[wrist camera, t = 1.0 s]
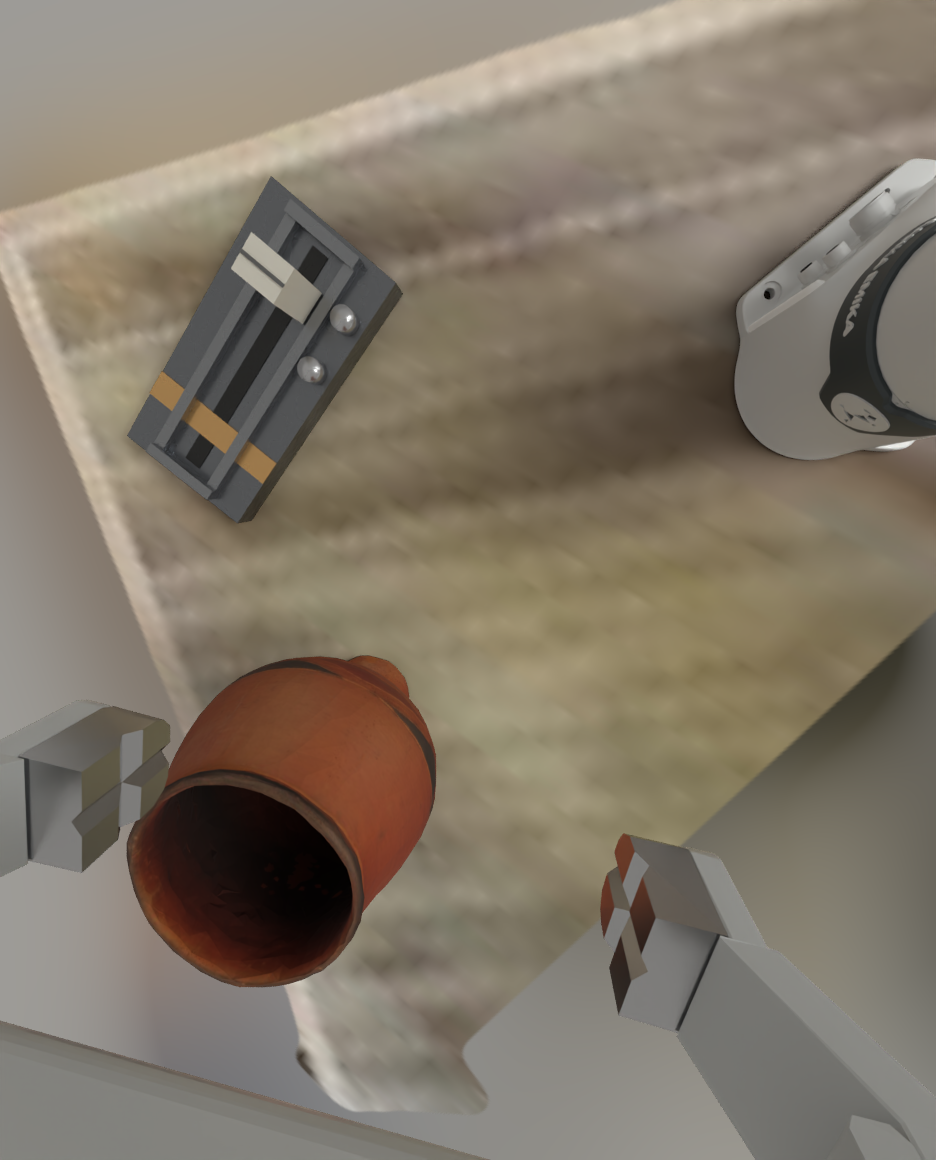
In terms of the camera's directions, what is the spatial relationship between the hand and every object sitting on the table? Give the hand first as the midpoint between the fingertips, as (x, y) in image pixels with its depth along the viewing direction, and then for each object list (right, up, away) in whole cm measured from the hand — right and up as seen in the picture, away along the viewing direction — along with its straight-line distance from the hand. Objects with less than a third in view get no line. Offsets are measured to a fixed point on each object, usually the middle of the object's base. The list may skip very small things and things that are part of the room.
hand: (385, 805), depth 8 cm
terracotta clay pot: (-9, -8, +43) cm, 44 cm away
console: (-17, +24, +36) cm, 47 cm away
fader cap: (-13, +28, +32) cm, 45 cm away
